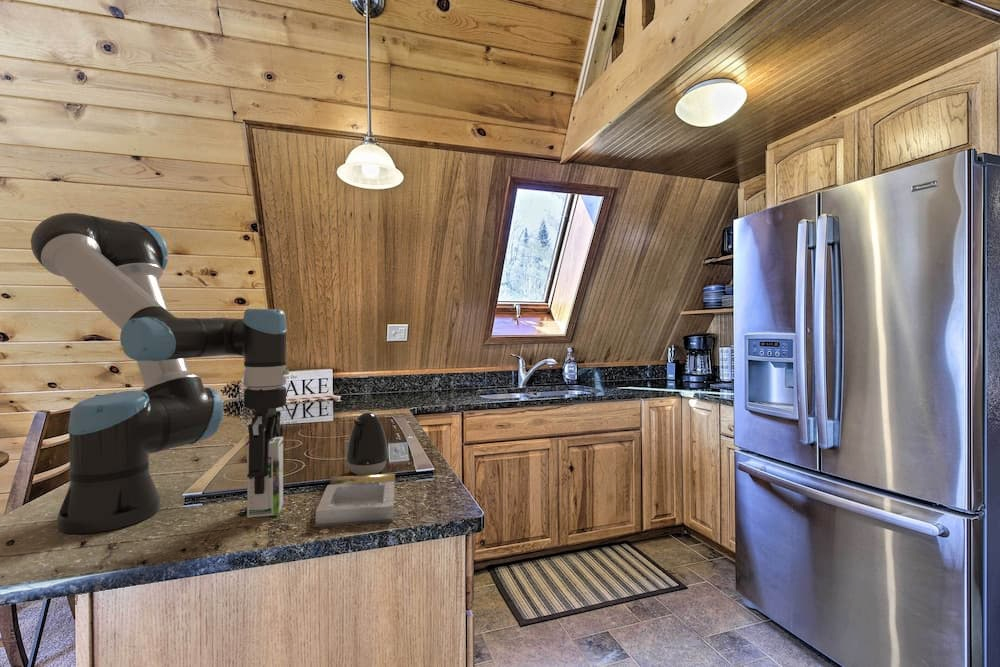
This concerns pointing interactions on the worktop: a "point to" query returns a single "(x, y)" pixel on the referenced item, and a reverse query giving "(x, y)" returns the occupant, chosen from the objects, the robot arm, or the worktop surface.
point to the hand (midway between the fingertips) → (265, 502)
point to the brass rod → (363, 479)
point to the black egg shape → (367, 446)
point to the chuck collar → (356, 504)
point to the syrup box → (274, 481)
